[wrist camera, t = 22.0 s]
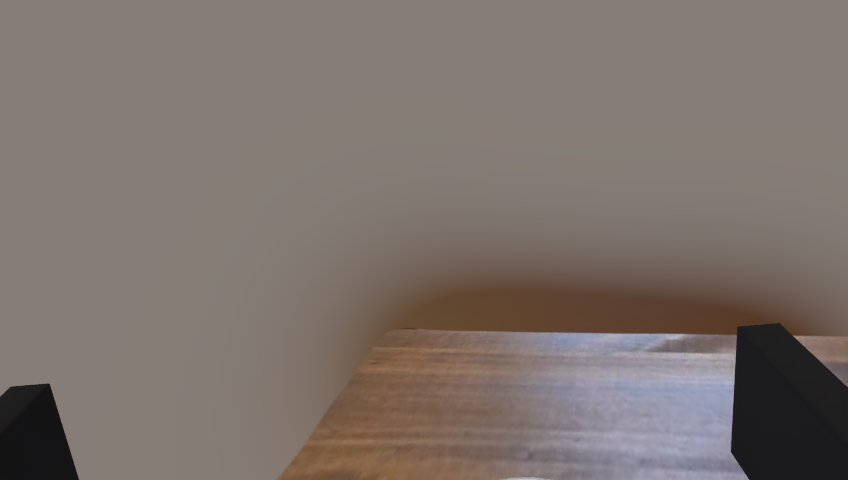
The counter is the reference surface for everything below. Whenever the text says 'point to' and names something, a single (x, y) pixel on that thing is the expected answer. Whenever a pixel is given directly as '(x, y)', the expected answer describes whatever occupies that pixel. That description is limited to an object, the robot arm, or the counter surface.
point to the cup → (526, 478)
